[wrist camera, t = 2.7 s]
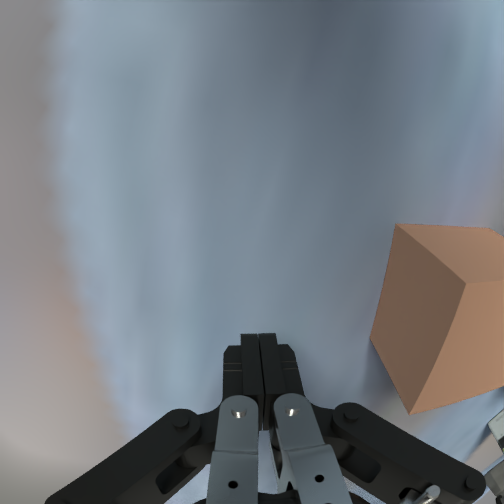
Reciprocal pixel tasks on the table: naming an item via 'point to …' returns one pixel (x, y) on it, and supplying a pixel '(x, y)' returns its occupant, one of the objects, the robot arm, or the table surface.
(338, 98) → the table surface
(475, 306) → the terracotta block
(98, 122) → the table surface
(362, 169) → the table surface
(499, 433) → the tea box
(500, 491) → the coffeepot
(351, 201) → the table surface
